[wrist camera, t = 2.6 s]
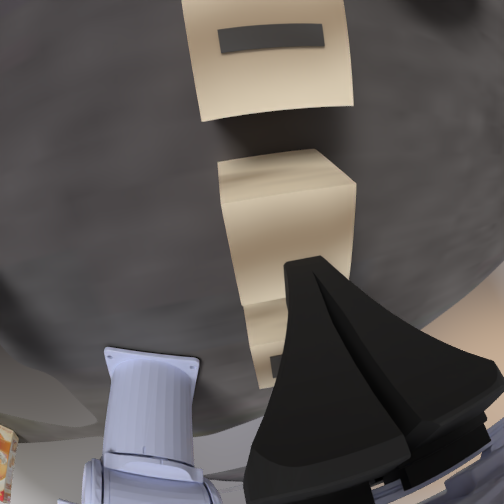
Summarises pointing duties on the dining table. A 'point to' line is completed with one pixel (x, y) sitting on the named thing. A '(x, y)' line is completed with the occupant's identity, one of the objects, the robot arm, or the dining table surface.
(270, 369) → the numbered block seven
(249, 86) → the numbered block one
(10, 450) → the coffeecake box
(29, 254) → the dining table surface
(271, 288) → the plain block
